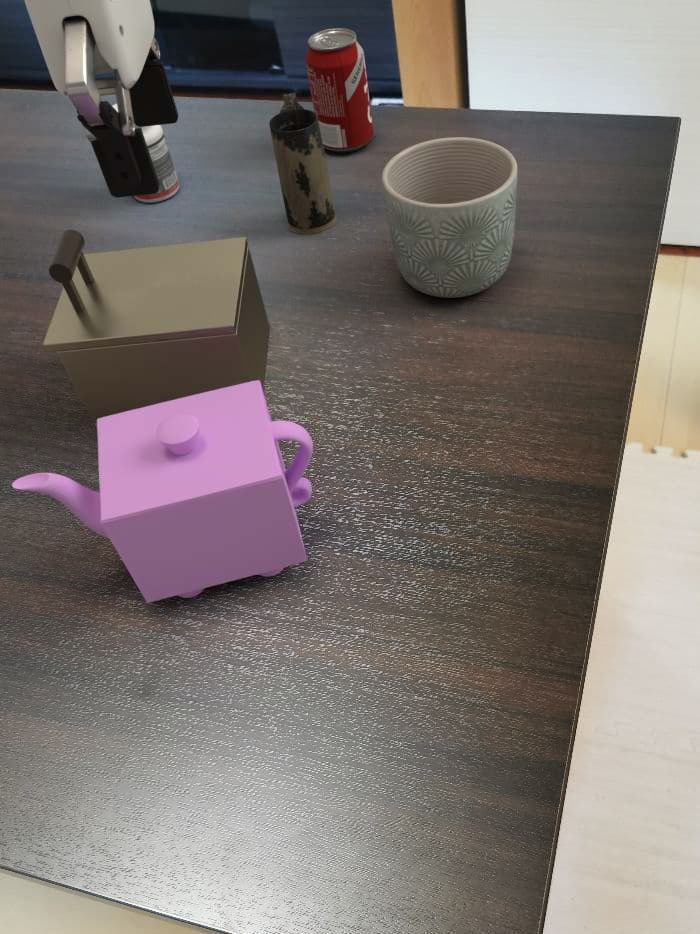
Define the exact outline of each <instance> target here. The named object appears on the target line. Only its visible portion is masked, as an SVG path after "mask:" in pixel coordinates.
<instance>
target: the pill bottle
mask: <svg viewBox="0 0 700 934" xmlns="http://www.w3.org/2000/svg"><path fill="white" fill-rule="evenodd" d="M111 106H112V107H113V108H114V109H115V110H116V111H117V112H118V107H117V102H116V103H115V104H113V105H111ZM134 126H135V129H136V128H141V129H142V132H143V135H144V138H145V141H146V144H147V147H148V150H149V153H150V156H151V159H152V162H153V165H154V168H155V171H156V174H157V177H158V181H159V184H160V187H159V190H158V192H157V193H156V194H148V195H139V196H133V197H134V199H135V200H137V201H139V202H142V203H147V204H154V203H160V202H163V201H166V200H168V199H170V198H172V197H173V196H174V195H176V194H177V192H178V191H179V189H180V180H179V178H178V174H177V171H176V168H175V165H174V162H173V158H172V155H171V152H170V149H169V146H168V143H167V139H166V136H165V133H164V130H163V128H162V125H154V126H145V127H138V126H136V125H135V124H134Z"/></svg>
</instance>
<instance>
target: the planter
mask: <svg viewBox="0 0 700 934" xmlns="http://www.w3.org/2000/svg"><path fill="white" fill-rule="evenodd" d="M518 168H519V167H518V163H517V160H516V157H514V155H513V154H512V153H511V152H510V151H509V150H507V148H505V147H503V146H502V145H499V144H497V143H495V142H492V141H490V140H485V139H481V138H475V137H468V136H467V137H466V136H464V137H463V136H458V137H457V136H454V137H442V138H441V137H440V138H435V139H429V140H426V141H422V142H419V143H416V144H414V145H412V146H409V147H407V148H405V149H403V150H401V151H399V152H398V153H397V154H395V155H394V156H393V157H392V158H391V159H390V160H389V161H388V162H387V163H386V165H385V166H384V168H383V170H382V174H381V184H382V190H383V197H384V204H385V209H386V217H387V222H388V230H389V234H390V240H391V241H390V242H391V246H392V250H393V254H394V257H395V263H396V265H397V268H398V270H399V272H400V275H401V276H402V277H403V279H404V280H405V281H406V283H407V284H408V285H409V286H411V287H412V288H414V289H415V290H416V291H418V292H421V293H423V294H425V295H428V296H431V297H435V298H443V299H457V298H465V297H469V296H474V295H476V294H479V293H481V292H483V291H485V290H487V289H489V288H490V287H492V286H493V285H495V284H496V283H497V282H498V281H500V279H501V278H502V276H503V275H504V274H505V273H506V270H507V269H508V266H509V264H510V261H511V258H512V252H513V245H514V238H515V229H516V209H517V192H518V191H517V190H518V189H517V188H518V171H519V170H518Z"/></svg>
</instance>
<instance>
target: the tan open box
mask: <svg viewBox="0 0 700 934" xmlns="http://www.w3.org/2000/svg"><path fill="white" fill-rule="evenodd" d="M270 327H271V326H270V323H269V319H268V315H267V311H266V307H265V303H264V300H263V296H262V293H261V288H260V284H259V281H258V277H257V273H256V269H255V265H254V261H253V258H252V253H251V250H250V247H249V245H248V248H247V255H246V263H245V270H244V278H243V285H242V292H241V300H240V307H239V314H238V322H237V329H236V333H231V334H221V335H212V336H202V337H192V338H182V339H172V340H162V341H152V342H142V343H132V344H123V345H113V346H103V347H93V348H83V349H73V350H63V351H56V354H57V356H58V358H59V360H60V361H61V364H62V366H63V367H64V369H65V371H66V373H67V375H68V377H69V379H70V381H71V382H72V385H73V386H74V388H75V391H76V392H77V393H78V394H77V395H78V397H79V398H80V400H81V403H82V404H83V406H84V408H85V409H86V412H87V414H88V415H89V418H90V419H91V421H92V423H93V424H94V427H95V428H96V430H97V419H99V418H102V417H106V416H110V415H114V414H118V413H122V412H126V411H130V410H134V409H138V408H142V407H146V406H150V405H155V404H159V403H163V402H167V401H171V400H175V399H179V398H183V397H188V396H192V395H196V394H200V393H204V392H209V391H213V390H217V389H221V388H226V387H230V386H234V385H238V384H243V383H247V382H252V381H256V380H259V381H260V383H261V386H262V390H263V391H264V390H265V389H264V387H265V376H266V368H267V359H268V358H267V357H268V346H269V336H270Z"/></svg>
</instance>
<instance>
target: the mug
mask: <svg viewBox="0 0 700 934" xmlns="http://www.w3.org/2000/svg"><path fill="white" fill-rule="evenodd" d="M282 97H283V105H282V107H281V109H280V111H279V113H278V114H275V115H274V116H273V117H271V118H270V120H269V123H268V126H269V130H270V136H271V137H270V138H271V141H272V147H273V152H274V159H275V162H276V163H275V164H276V168H277V174H278V179H279V183H280V188H281V189H280V190H281V195H282V200H283V205H284V210H285V215H286V221H287V226H288V228H289V229H290V230H291V231H292V232H295V233H298V234H303V235H310V234H317V233H322V232H324V231H326V230H329V228H331V227H333V225H335V224H336V222H337V220H338V219H337V217H338V215H337V211H336V205H335V201H334V200H335V199H334V196H333V190H332V186H331V180H330V175H329V169H328V163H327V159H326V158H327V157H326V153H325V148H324V147H323V142H322V137H321V132H320V127H319V121H318V116H317V114H316V113H315V112H314V110H310V109H307V108H304V107H303V106H302V105H301V103H299V102H298V99H297V94H296V92H295V91H294V92H291V93H283V94H282Z"/></svg>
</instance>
